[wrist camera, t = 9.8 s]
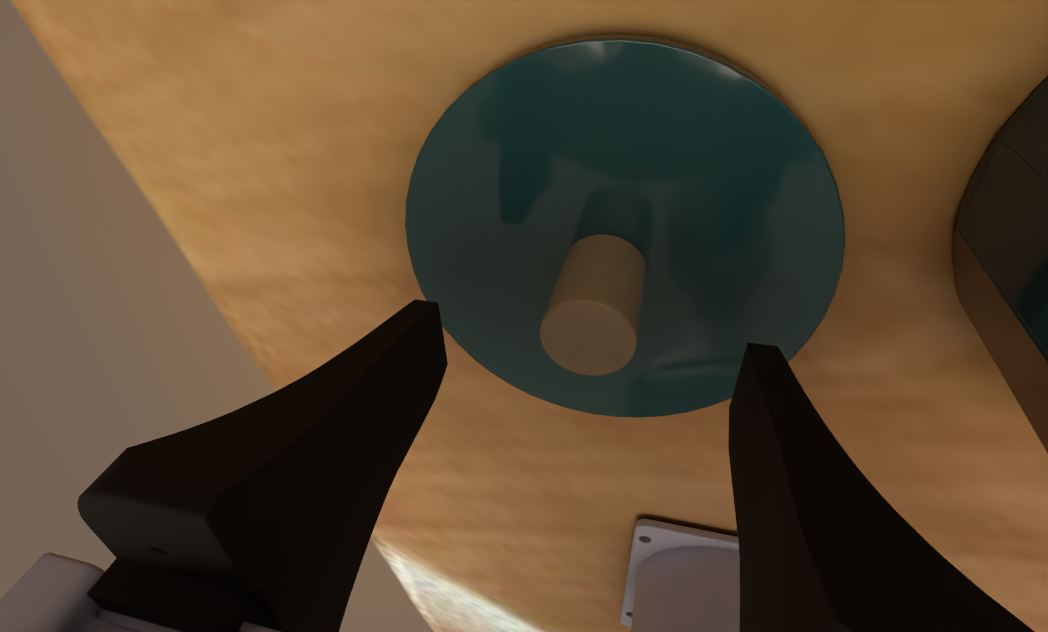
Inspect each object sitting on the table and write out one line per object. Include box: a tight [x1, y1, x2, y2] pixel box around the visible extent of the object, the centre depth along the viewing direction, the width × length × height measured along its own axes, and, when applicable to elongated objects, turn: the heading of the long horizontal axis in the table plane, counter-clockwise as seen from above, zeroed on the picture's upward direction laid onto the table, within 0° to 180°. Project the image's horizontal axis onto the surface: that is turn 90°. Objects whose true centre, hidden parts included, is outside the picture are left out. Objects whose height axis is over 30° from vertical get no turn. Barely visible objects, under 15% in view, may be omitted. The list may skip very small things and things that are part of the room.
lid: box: [405, 34, 845, 417], centre depth 16 cm, size 12×12×4 cm
